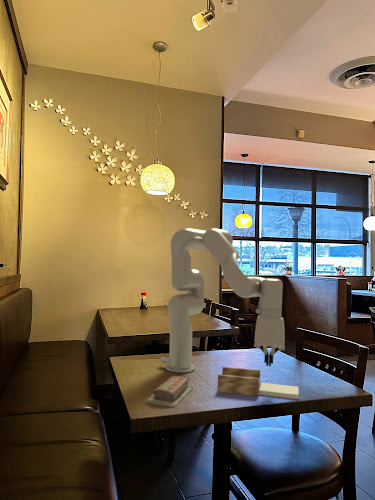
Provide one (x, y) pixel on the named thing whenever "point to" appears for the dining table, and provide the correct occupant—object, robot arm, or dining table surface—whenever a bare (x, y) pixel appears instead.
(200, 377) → the dining table surface
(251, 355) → the dining table surface
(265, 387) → the cover plate
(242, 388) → the box
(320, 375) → the dining table surface
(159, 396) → the packaged product
